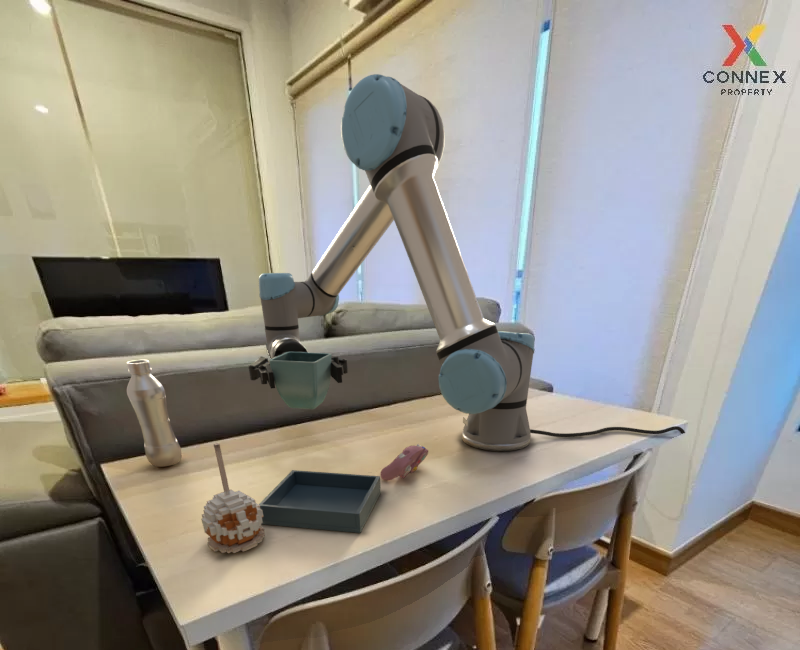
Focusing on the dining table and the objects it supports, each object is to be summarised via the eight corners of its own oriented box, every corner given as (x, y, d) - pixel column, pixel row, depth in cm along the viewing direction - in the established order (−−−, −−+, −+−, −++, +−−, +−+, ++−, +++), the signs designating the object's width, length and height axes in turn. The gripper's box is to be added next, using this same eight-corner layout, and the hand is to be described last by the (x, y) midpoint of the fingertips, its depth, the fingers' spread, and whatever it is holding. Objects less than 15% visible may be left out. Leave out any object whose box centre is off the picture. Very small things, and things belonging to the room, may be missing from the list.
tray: (380, 493, 82) (380, 476, 80) (360, 533, 70) (359, 513, 68) (294, 486, 84) (292, 469, 83) (260, 524, 72) (257, 505, 71)
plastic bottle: (191, 460, 96) (165, 359, 86) (167, 472, 91) (137, 366, 80) (166, 456, 98) (138, 357, 88) (141, 468, 92) (108, 364, 82)
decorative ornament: (225, 562, 63) (200, 459, 56) (200, 541, 68) (174, 444, 60) (274, 541, 68) (258, 444, 60) (248, 523, 73) (230, 430, 65)
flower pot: (320, 413, 83) (315, 361, 79) (274, 411, 85) (267, 359, 80) (335, 401, 91) (332, 352, 86) (293, 399, 92) (288, 351, 88)
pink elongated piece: (395, 491, 86) (409, 463, 81) (376, 477, 87) (390, 448, 82) (421, 473, 93) (436, 447, 88) (404, 460, 94) (417, 433, 89)
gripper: (344, 371, 105) (371, 393, 87) (236, 379, 98) (240, 405, 80) (342, 335, 101) (370, 351, 83) (229, 341, 94) (232, 359, 76)
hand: (306, 377), depth 81 cm, fingers closed on flower pot, 11 cm apart
